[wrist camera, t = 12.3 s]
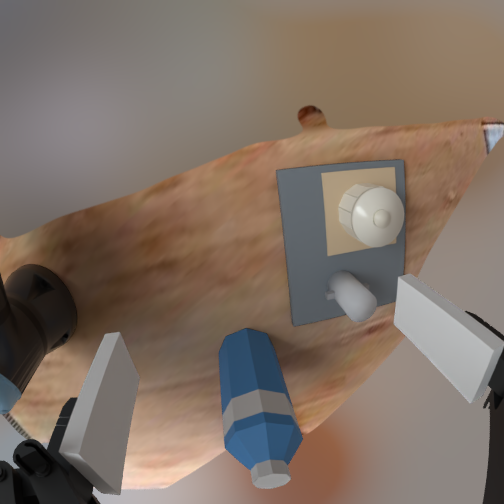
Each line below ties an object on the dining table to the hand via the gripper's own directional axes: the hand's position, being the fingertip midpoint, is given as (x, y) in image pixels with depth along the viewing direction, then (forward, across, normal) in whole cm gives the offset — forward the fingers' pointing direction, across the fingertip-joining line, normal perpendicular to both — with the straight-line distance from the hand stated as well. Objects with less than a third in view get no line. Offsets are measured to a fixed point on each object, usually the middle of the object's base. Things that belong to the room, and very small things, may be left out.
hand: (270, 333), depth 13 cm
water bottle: (+29, 0, -24) cm, 38 cm away
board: (+29, +18, -8) cm, 34 cm away
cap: (+27, +20, -3) cm, 33 cm away
